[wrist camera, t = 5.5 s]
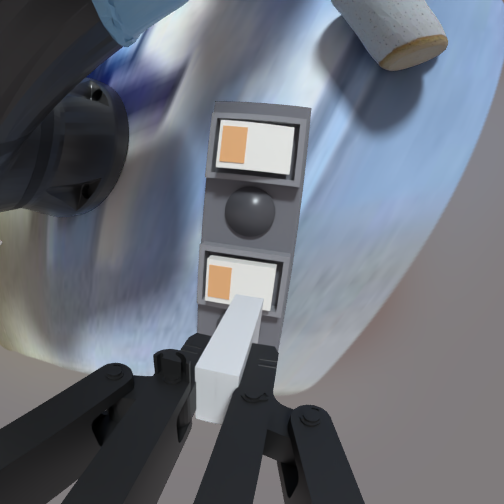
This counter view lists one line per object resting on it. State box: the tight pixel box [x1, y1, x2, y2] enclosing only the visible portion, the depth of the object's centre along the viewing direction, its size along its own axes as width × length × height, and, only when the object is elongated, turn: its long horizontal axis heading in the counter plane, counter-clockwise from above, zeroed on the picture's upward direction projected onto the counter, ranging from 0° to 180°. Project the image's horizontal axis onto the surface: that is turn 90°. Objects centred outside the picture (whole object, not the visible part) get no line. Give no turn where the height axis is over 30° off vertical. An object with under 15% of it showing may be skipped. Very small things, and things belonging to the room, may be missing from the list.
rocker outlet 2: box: [205, 255, 277, 311], centre depth 21 cm, size 5×3×1 cm
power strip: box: [197, 101, 311, 352], centre depth 22 cm, size 7×20×5 cm, turn 174°
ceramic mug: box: [331, 0, 448, 71], centre depth 14 cm, size 11×8×8 cm
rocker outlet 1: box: [216, 120, 294, 175], centre depth 18 cm, size 5×3×1 cm
